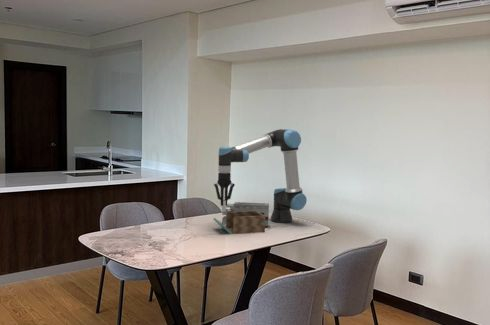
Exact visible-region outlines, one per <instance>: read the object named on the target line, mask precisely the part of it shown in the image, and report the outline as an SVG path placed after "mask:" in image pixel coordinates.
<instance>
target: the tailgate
mask: <svg viewBox="0 0 490 325" xmlns="http://www.w3.org/2000/svg"><path fill="white" fill-rule="evenodd" d="M213 221H214V222H215V223H217V224H218V225H219V226H220V227H221V228H222V229H223V230H225V231H226V232H227V233H228V234H230V235H234V234H233V233H232V232H231V231H230V230H228V229H227V228H226V225H225V224H222V221H219V220H218V219H217V218H215V217H214V218H213Z"/></svg>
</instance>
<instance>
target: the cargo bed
mask: <svg viewBox="0 0 490 325" xmlns="http://www.w3.org/2000/svg"><path fill="white" fill-rule="evenodd" d="M225 216H226V224H225V227H226V228H227V229H228V230H230V231H231V232H232V233H233V234H232V235H239V234H254V233H265V232H266V226H265V215H263V214H261V213H259V212H257V211H243V212H226V215H225Z"/></svg>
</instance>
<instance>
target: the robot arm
mask: <svg viewBox="0 0 490 325" xmlns="http://www.w3.org/2000/svg"><path fill="white" fill-rule="evenodd" d="M301 143H302V137H301V134H300V132H298V130H295V129H289V128H288V129H282V128H280V129H276V130H275V129H274V130H273V131H270V132H267V133H265V134H264V135H263V136H261V137H258V138H254V139H253V140H249V141H246V142H244V143H240V144H238V145H235V146H231V147H230V146H220V147H219V148H218V171H217V172H218V173H217V178H218V179H217V181H216V183H213V186H214V188H215V192H216V197H217V198H216V199H218V200H220V206H221V211H226V209H227V207H226V206H227V204H228V201H229V200H231V198H232V192H233V189H234V187H235V185H236V184H235V183H233V182H232V180H231V178H232V176H231V175H232V173H231V172H232V170H231V169H232V163H247V162H248V161H249V156H250V154H253V153H254V152H258V151H260V150H262V149H266V148H268V149H270V148H275V147H280V152H281V153H282V154H283V161H284V162H283V163H284V172H285V184H286V188H285V187H283V188H282V187H281V188H275V189H274V191H273V210H272V213H271V216H270V221H271V222H273V223H277V224H280V223H281V224H289V223H292V222H293V216H292V211H291V210H293V211H301V210H303V209H304V207H305V206H306V204H307V201H308V200H307V196H306V195H305V194H304V193H303V189H302V187H300V177H299V166H298V164H299V163H298V157H297V156H298V155H297V152H298V150H299V147H300V145H301ZM219 188H220V189H219Z"/></svg>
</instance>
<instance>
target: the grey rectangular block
mask: <svg viewBox="0 0 490 325" xmlns="http://www.w3.org/2000/svg"><path fill="white" fill-rule="evenodd" d="M269 205H270V204H269V203H268V202H267V203H265V202H247V201H246V202H244V201H243V202H241V201H235V202H234V203H227V206H226V211H222V210H221V211H222V212H221V213H222V214H221V215H222V216H223V217H222V220H221V223H222V224H223V225H226V212H243V211H257V212H259V213H261V214H263V215H265V227H269V217H270V216H269V214H270V212H269V211H270V209H269V208H270V206H269Z"/></svg>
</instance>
